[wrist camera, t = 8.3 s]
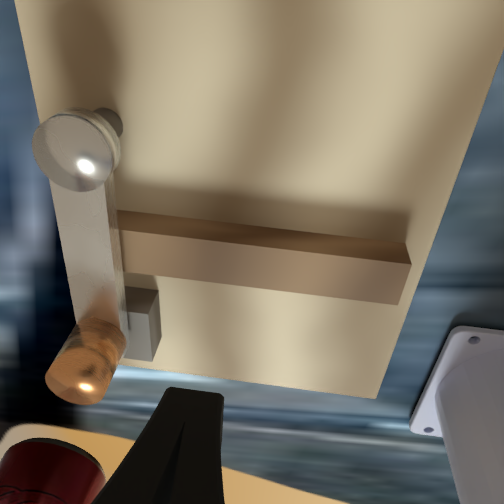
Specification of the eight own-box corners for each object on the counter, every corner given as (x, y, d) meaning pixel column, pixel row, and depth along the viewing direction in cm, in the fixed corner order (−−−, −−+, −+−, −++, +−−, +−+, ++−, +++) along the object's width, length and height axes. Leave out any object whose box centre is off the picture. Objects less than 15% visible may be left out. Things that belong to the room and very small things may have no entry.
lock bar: (137, 344, 20) (110, 409, 17) (84, 336, 20) (48, 399, 17) (118, 112, 14) (70, 154, 11) (41, 102, 14) (-24, 142, 11)
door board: (510, -8, 13) (548, 2, 11) (373, 383, 24) (379, 426, 22) (21, -51, 14) (-30, -50, 12) (96, 346, 24) (76, 385, 22)
